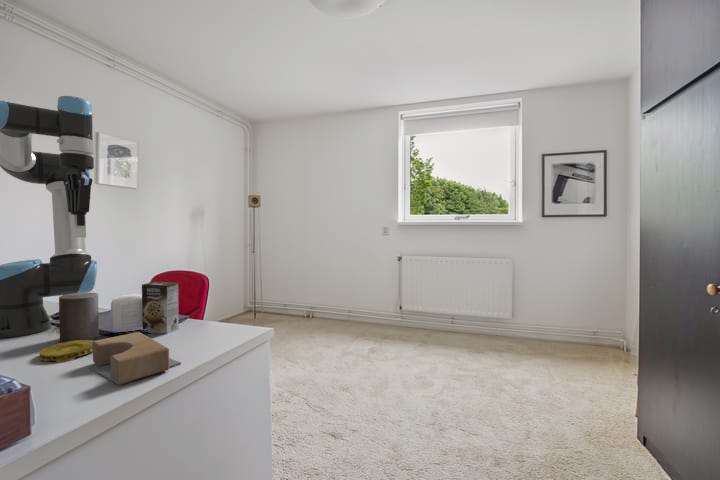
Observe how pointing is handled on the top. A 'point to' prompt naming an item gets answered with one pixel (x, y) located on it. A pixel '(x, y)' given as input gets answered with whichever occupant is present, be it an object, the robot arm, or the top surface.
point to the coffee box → (160, 307)
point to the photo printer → (126, 312)
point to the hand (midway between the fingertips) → (79, 237)
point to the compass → (66, 350)
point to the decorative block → (131, 356)
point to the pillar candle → (78, 317)
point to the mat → (106, 369)
